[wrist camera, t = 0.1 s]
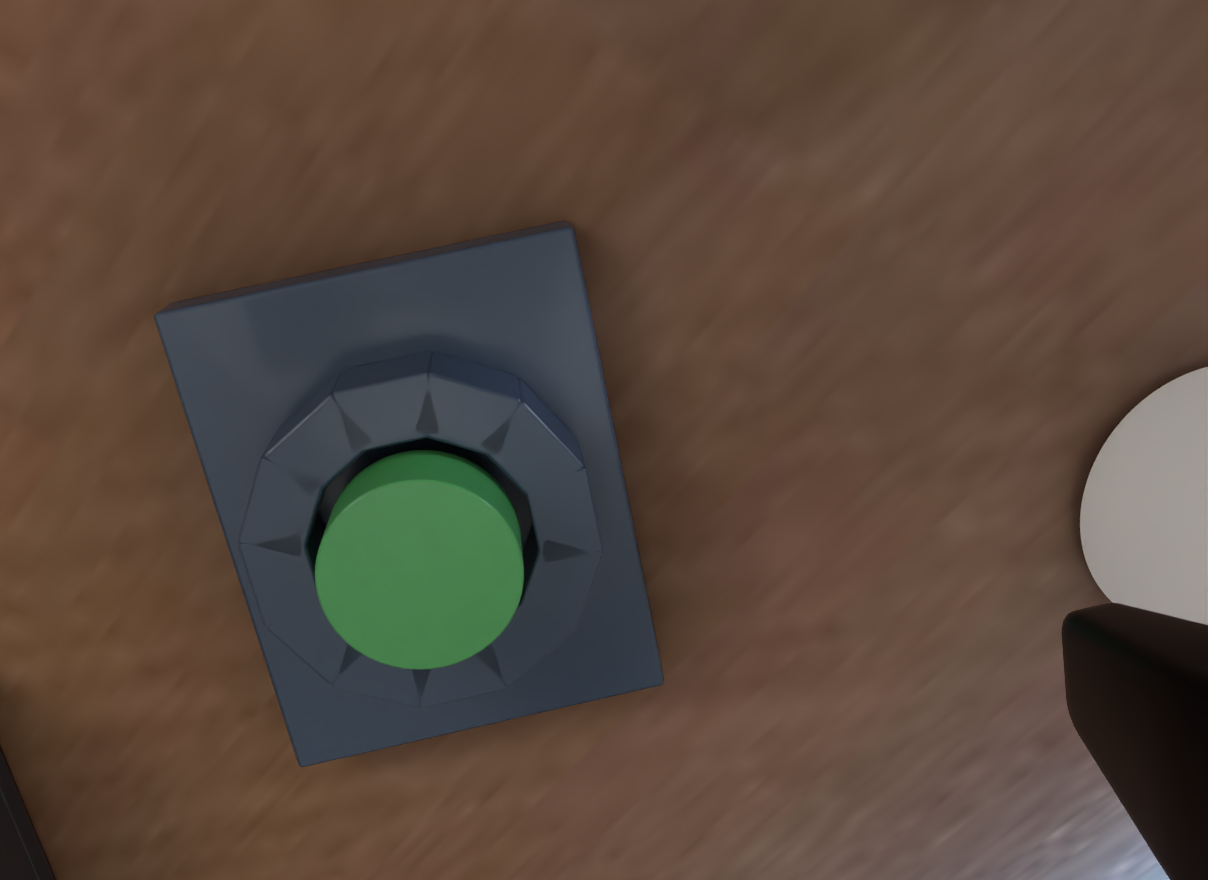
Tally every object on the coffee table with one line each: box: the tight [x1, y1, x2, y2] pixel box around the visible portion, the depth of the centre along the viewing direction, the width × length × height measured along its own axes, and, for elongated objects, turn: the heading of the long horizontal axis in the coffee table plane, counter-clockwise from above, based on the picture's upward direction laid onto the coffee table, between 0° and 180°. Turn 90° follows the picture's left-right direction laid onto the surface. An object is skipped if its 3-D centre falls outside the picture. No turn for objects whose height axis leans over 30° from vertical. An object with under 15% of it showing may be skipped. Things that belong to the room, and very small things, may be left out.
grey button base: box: [154, 221, 664, 767], centre depth 22 cm, size 10×8×3 cm
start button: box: [315, 450, 524, 670], centre depth 20 cm, size 4×4×2 cm
